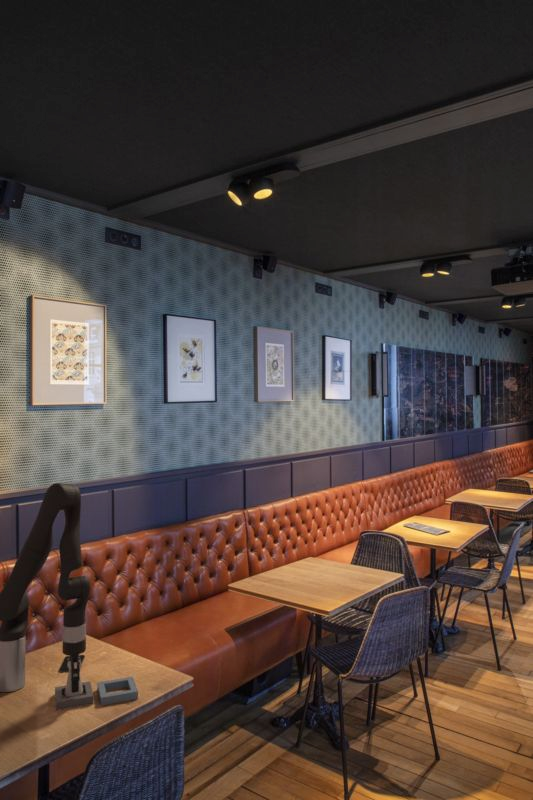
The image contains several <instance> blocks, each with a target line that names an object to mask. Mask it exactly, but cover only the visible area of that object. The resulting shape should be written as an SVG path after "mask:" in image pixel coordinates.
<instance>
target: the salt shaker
mask: <svg viewBox="0 0 533 800" xmlns="http://www.w3.org/2000/svg"><path fill="white" fill-rule="evenodd" d="M80 665H81V663H80ZM67 667H68V668H69V665H68V664H67ZM67 673H68V674H67V680H66V689H65V698H69V697H75V696H81V695H83V693H84V692H83V687H82V683H83V682H82V677H81V672H80V673H79V678H80V680H79V691H78V692H74V693H72V691H71V674H69V672H67ZM73 677H77V674H73Z"/></svg>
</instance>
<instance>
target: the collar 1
mask: <svg viewBox="0 0 533 800" xmlns="http://www.w3.org/2000/svg"><path fill="white" fill-rule="evenodd" d="M82 687H83V693H84V694H82V695H81V696H75V697H69V698H66V696H65V689H66V685H61V686H55V687H54V699H55V702H54V703H55V711H60V710H59V709H61V710H66V708H67V709H71V708H79V707H82V706H87V705H93V704H94V693H93V687H92V682H91V681H84V682H82ZM64 696H65V698H63V697H64Z"/></svg>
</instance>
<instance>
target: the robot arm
mask: <svg viewBox="0 0 533 800" xmlns="http://www.w3.org/2000/svg"><path fill="white" fill-rule="evenodd" d="M81 509H82V494H81V491H80V489H79V487H78V486H77V485H76V484H72V483H62V482H61V483H60V482H56V483H53V484H51V485H49V487H48V488H47V489H46V492H45V494H44V496H43V498H42V501H41V505H40V507H39V510H38V513H37V515H36V518H35V521H34V523H33V524H32V527H31V530H30V532H29V534H28V536H27V538H26V540H25V541H24V544H23V546H22V548H21V549H20V552H19V554H18V557H17V559H16V561H15V563H14V566H13V568H12V570H11V572H10V574H9V577H8V579H7V581H6V583H5V584H4V586H3V587H2V590H1V591H0V622H1V623H0V692H1V693H10V692H15V691H18V690H21V689H22V688H23V687H25V685H26V639H27V637H26V634H27V633H26V632H27V628H28V625H29V610H30V609H29V608H30V607H29V606H30V605H29V596H28V594H27V593H26V591H27V590H28V587H29V586H30V584H31V583H32V582H33V581H34V579H35V578H36V577H37V576H38V574H39V573H40V572H41V570H42V568H43V567H44V565H45V563H46V562H47V560H48V559H49V558H48V557H49V556H50V553H51V551H52V549H53V545H54V535H53V528H54V527H53V526H54V523H55V520H56V518H57V516H58V515H59V512H60V511H63V513H64V519H65V520H64V521H65V522H64V528H63V531H62V534H61V538H60V540H59V547H58V548H59V549H58V550H59V560H60V561H59V562H60V574H59V581H58V585H57V595H58V597H59V598H60V599H61V600H62V601H64V602H65V601H71V600H76V601H75V602H74V603H72V604H70V605H67V606H65V608H64V609H63V621H62V622H63V627H62V654H63V655H65V656H69V657H68V665H69V672H68V673H69V674H71V691H72V693H74V692H78V691H79V680H80V678H79V673H80V674H81V668H80V663H81V658H80V655H82V654H83V653H84V652H85V651H87V628H86V626H87V625H86V609H87V605H88V601H89V596H90V595H91V588H92V584H91V581H90V579H89V577H87V576H86V575H79V576H74V577H70V575H71V573H72V572H74V571H77V570H79V569H81V568H82V567H83V557H82V547H81V533H80V532H81ZM73 674H77V677H73Z"/></svg>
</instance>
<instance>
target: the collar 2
mask: <svg viewBox="0 0 533 800" xmlns="http://www.w3.org/2000/svg"><path fill="white" fill-rule="evenodd" d="M96 688H97V694H98V698H99V703H100V706H107V705H113V704H117V703H123V702H129V701H134V700H138V699H139V691H138V688H137V684H136V682H135V679H134V677H133V676H128V677H121V678H116V679H110V680H105V681H97V687H96ZM125 688H127V689H128V690H123V691H116V692H110V693H107V691H113V690H118V689H119V690H121V689H125Z"/></svg>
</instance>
